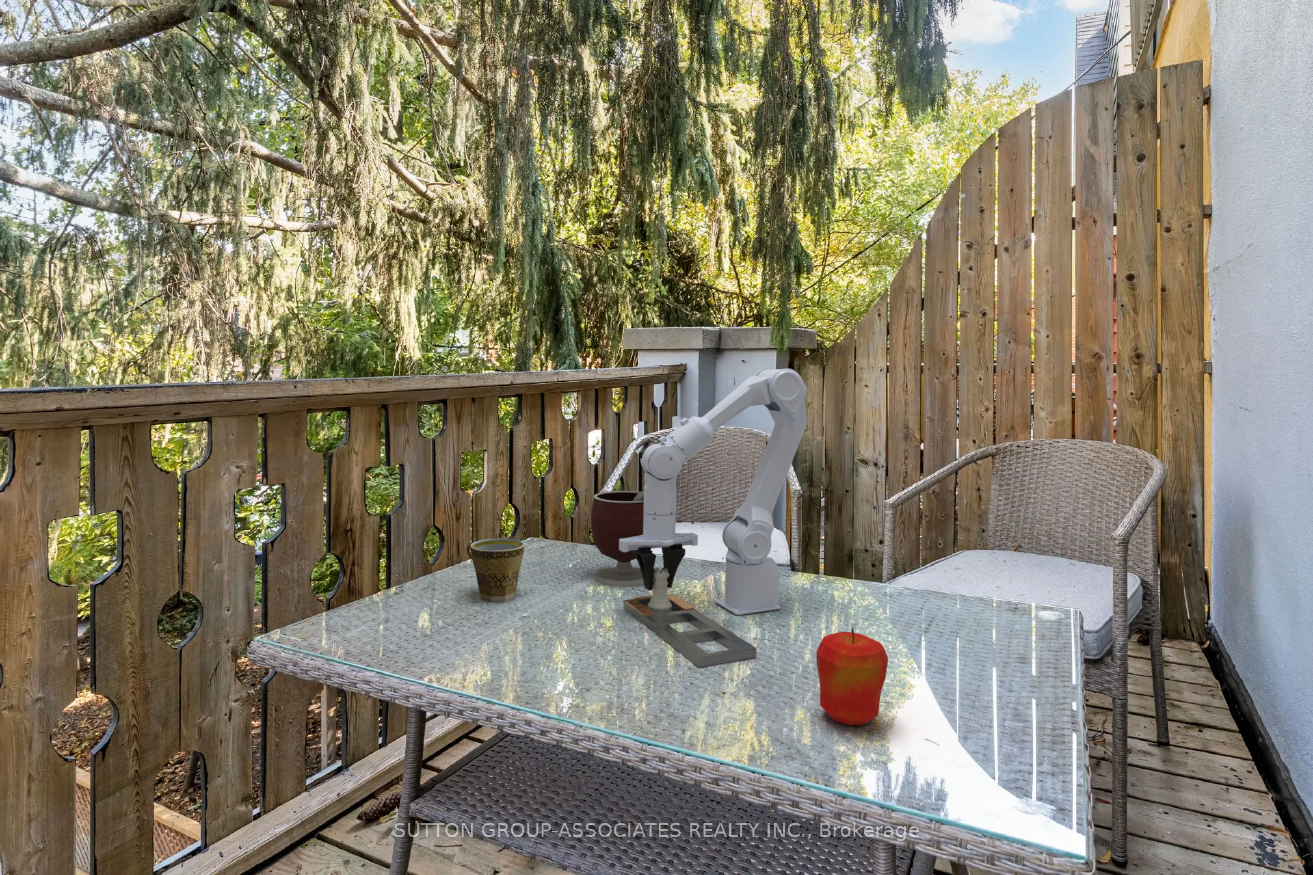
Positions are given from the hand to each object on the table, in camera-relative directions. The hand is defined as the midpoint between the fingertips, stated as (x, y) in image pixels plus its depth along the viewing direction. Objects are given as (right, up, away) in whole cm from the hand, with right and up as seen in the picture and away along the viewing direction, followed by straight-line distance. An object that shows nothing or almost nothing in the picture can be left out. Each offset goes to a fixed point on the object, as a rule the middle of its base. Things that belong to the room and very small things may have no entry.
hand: (658, 587), depth 134 cm
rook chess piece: (0, -5, -1) cm, 5 cm away
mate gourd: (-6, -3, +21) cm, 23 cm away
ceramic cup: (-31, -3, +9) cm, 33 cm away
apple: (+24, -9, -39) cm, 47 cm away
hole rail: (+4, -5, -9) cm, 11 cm away
